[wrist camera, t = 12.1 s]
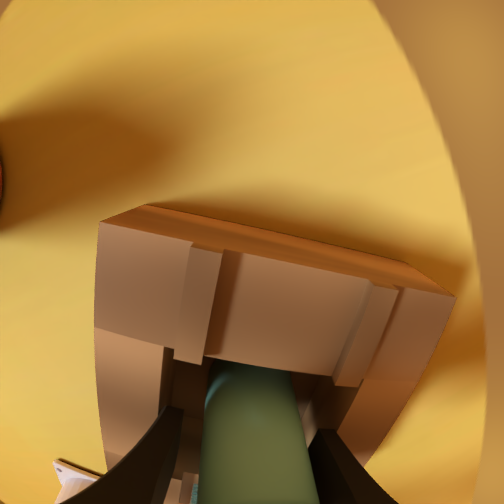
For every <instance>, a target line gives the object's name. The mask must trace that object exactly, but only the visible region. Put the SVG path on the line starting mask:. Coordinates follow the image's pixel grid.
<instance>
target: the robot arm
mask: <svg viewBox="0 0 504 504" xmlns="http://www.w3.org/2000/svg"><path fill="white" fill-rule="evenodd" d="M183 415H184V409H180V408H176V407H172V406H168V405H166V406H164V407H163V408H162V410H161V412H160V414H159V415H158V417H157V418H156V420H155V421H154V423H153V424H152V425H151V427H150V428H149V429H148V431H147V432H146V433H145V434H144V435H143V437H142V438H141V439H140V440H139V441H138V443H137V444H136V445H135V446H134V447H133V448H132V449H131V450H130V451H129V452H128V453H127V454H126V455H125V456H124V457H123V458H122V459H121V460H120V461H119V462H118V463H117V464H116V465H115V466H114V467H113V468H111V469H110V470H109V471H108V472H107V473H106V474H104V475H103V476H102V477H99V476H96V475H93V474H91V473H88V472H85V471H83V470H80V469H78V468H75V467H73V466H71V465H68V464H66V463H64V462H61V461H59V460H54V461H53V466H54V468H55V471H56V473H57V475H58V478H59V480H60V483H61V485H62V489H61V491H60V493H59V495H58V497H57V499H56V501H55V504H163V503H164V500H165V497H166V494H167V491H168V488H169V485H170V481H171V478H172V475H173V472H174V469H175V464H176V459H177V454H178V449H179V444H180V437H181V429H182V422H183ZM308 453H309V458H310V462H311V467H312V471H313V475H314V480H315V484H316V489H317V493H318V498H319V502H320V504H399V503H397V502H396V501H395V500H394V499H393V498H392V497H390V496H389V495H388V494H387V493H386V492H385V491H384V490H383V489H382V488H381V487H380V486H379V485H378V484H377V483H376V482H375V480H374V479H373V478H372V477H371V476H370V475H369V474H368V473H367V471H366V470H365V469H364V468H363V467H362V465H361V464H360V463H359V462H358V460H357V459H356V458H355V456H354V455H353V454H352V453H351V451H350V450H349V449H348V447H347V446H346V445H345V443H344V442H343V440H342V439H341V438H340V436H339V435H338V434H337V432H336V431H335V430H334V429H323V428H318V430H317V432H316V434H315V436H314V438H313V439H312V441H311V443H310V445H309V447H308Z"/></svg>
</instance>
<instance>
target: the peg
mask: <svg viewBox="0 0 504 504" xmlns="http://www.w3.org/2000/svg"><path fill="white" fill-rule="evenodd" d="M197 504H320V502H319V498H318V493H317V489H316V484H315V480H314V475H313V471H312V467H311V462H310V458H309V453H308V449H307V445H306V440H305V436H304V432H303V427H302V423H301V418H300V414H299V410H298V405H297V401H296V397H295V393H294V388H293V384H292V380H291V375H290V371H288V370H281V369H274V368H268V367H262V366H256V365H250V364H244V363H239V362H233V361H228V360H223V359H218V358H217V359H216V360H215V361H214V363H213V364H212V365H211V367H210V370H209V373H208V381H207V391H206V401H205V411H204V421H203V432H202V443H201V454H200V466H199V478H198V491H197Z"/></svg>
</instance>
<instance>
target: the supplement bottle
mask: <svg viewBox="0 0 504 504" xmlns="http://www.w3.org/2000/svg"><path fill="white" fill-rule="evenodd" d="M1 193H2V169H1V163H0V201H1Z"/></svg>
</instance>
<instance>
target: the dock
mask: <svg viewBox="0 0 504 504" xmlns="http://www.w3.org/2000/svg"><path fill="white" fill-rule="evenodd" d="M456 299H457V298H456V297H455V296H453V295H452V294H451V293H449V292H448V291H446V290H445V289H444V288H442V287H441V286H439V285H438V284H436V283H435V282H433V281H432V280H431V279H429V278H428V277H426V276H425V275H423V274H422V273H420V272H419V271H417V270H416V269H414V268H413V267H411V266H410V265H408V264H407V263H405V262H401V261H397V260H393V259H389V258H385V257H380V256H376V255H372V254H368V253H364V252H360V251H356V250H351V249H347V248H343V247H339V246H335V245H330V244H326V243H322V242H317V241H313V240H309V239H304V238H300V237H296V236H291V235H287V234H282V233H278V232H273V231H269V230H264V229H260V228H255V227H251V226H246V225H241V224H237V223H232V222H227V221H223V220H218V219H213V218H208V217H204V216H199V215H194V214H189V213H184V212H180V211H175V210H170V209H165V208H160V207H155V206H150V205H145V204H144V205H142V206H139V207H136V208H134V209H131V210H128V211H126V212H123V213H121V214H118V215H116V216H113V217H111V218H108V219H105V220H103V221H101V222H100V223H99V233H98V244H97V257H96V273H95V298H94V343H95V368H96V384H97V396H98V407H99V416H100V425H101V432H102V440H103V446H104V453H105V459H106V464H107V470H108V471H109V470H110V469H111V468H113V467H114V466H115V465H116V464H117V463H118V462H119V461H120V460H121V459H122V458H123V457H124V456H125V455H126V454H127V453H128V452H129V451H130V450H131V449H132V448H133V447H134V446H135V445H136V444H137V443H138V441H139V440H140V439H141V438H142V437H143V435H144V434H145V433H146V432H147V431H148V429H149V428H150V427H151V425H152V424H153V423H154V421H155V420H156V418H157V417H158V415H159V414H160V412H161V410H162V408H163V407H164V406H166V405H168V406H172V407H176V408H180V409H184V415H183V422H182V429H181V437H180V444H179V449H178V454H177V459H176V464H175V469H174V472H173V475H172V478H171V481H170V485H169V488H168V491H167V494H166V497H165V500H164V503H163V504H179V503H180V504H190V499H191V494H192V490H193V485H194V483H195V484H198V478H199V466H200V454H201V443H202V432H203V421H204V411H205V401H206V391H207V381H208V373H209V370H210V367H211V365H212V364H213V363H214V361H215V360H216V359H217V358H218V359H223V360H228V361H233V362H239V363H244V364H250V365H256V366H262V367H268V368H274V369H281V370H288V371H290V375H291V380H292V384H293V388H294V393H295V397H296V401H297V405H298V410H299V414H300V418H301V423H302V427H303V432H304V436H305V440H306V445H307V449H308V447H309V445H310V443H311V441H312V439H313V438H314V436H315V434H316V432H317V430H318V428H323V429H334V430H335V431H336V432H337V434H338V435H339V436H340V438H341V439H342V440H343V442H344V443H345V445H346V446H347V447H348V449H349V450H350V451H351V453H352V454H353V455H354V456H355V458H356V459H357V460H358V462H359V463H360V464H361V465H362V467H364V466H365V465H366V463H367V462H368V460H369V459H370V458H371V456H372V455H373V454H374V452H375V451H376V449H377V448H378V446H379V445H380V444H381V442H382V441H383V439H384V438H385V436H386V435H387V433H388V432H389V430H390V429H391V427H392V425H393V424H394V422H395V421H396V419H397V417H398V416H399V414H400V413H401V411H402V409H403V408H404V406H405V404H406V403H407V401H408V399H409V397H410V396H411V394H412V392H413V390H414V389H415V387H416V385H417V383H418V381H419V379H420V378H421V376H422V374H423V372H424V370H425V368H426V366H427V364H428V362H429V360H430V358H431V356H432V354H433V352H434V350H435V348H436V346H437V343H438V341H439V339H440V337H441V335H442V332H443V330H444V328H445V326H446V323H447V321H448V319H449V316H450V314H451V311H452V309H453V306H454V304H455V301H456Z"/></svg>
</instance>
